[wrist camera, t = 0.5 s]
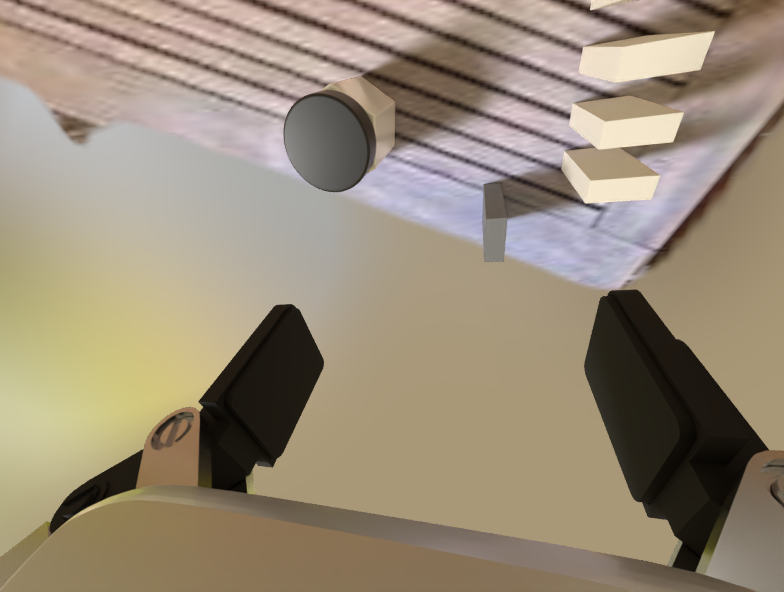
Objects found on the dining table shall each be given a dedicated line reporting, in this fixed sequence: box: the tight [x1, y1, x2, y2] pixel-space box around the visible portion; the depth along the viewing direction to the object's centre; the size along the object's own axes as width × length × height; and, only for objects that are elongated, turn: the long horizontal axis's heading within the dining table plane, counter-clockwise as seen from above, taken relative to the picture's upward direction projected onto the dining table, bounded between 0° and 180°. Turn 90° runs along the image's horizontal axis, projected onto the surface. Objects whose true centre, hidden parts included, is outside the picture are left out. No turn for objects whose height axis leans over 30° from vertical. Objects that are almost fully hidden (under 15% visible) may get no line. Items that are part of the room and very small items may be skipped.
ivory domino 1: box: [579, 31, 715, 82], centre depth 24 cm, size 2×5×10 cm, turn 99°
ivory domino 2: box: [569, 96, 684, 150], centre depth 27 cm, size 2×5×10 cm, turn 99°
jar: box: [284, 76, 395, 192], centre depth 31 cm, size 9×8×12 cm
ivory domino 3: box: [561, 147, 660, 203], centre depth 30 cm, size 2×5×10 cm, turn 99°
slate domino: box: [482, 183, 507, 262], centre depth 35 cm, size 2×5×10 cm, turn 9°
